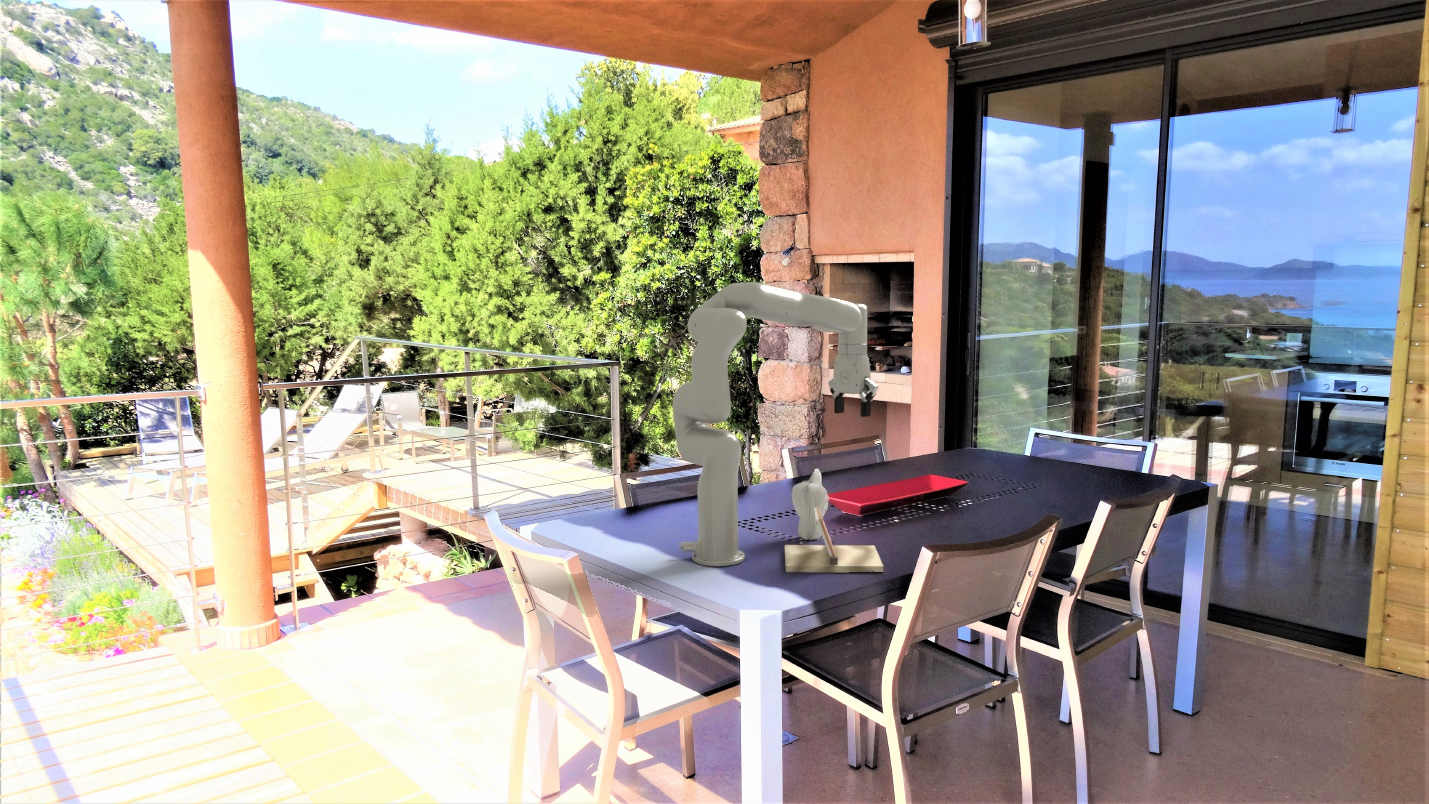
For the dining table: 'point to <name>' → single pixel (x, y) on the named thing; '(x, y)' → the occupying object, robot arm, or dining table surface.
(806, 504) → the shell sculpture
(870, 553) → the board
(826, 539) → the tile
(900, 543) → the dining table surface
